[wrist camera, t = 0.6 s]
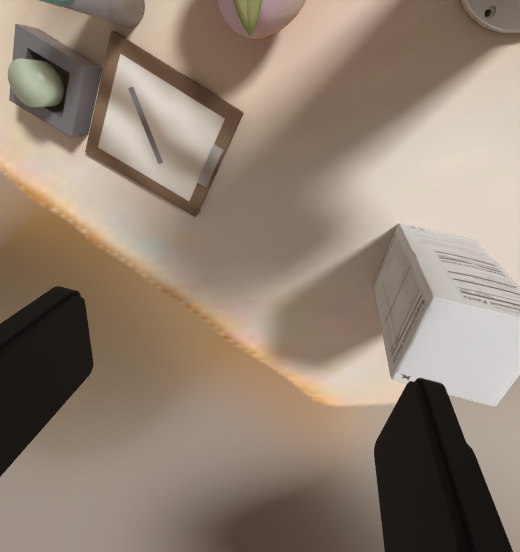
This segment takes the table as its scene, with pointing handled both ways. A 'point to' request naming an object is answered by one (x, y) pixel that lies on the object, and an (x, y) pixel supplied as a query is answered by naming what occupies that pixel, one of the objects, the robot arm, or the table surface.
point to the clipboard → (159, 126)
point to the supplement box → (448, 314)
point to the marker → (107, 9)
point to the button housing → (80, 83)
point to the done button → (35, 83)
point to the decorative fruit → (258, 16)
